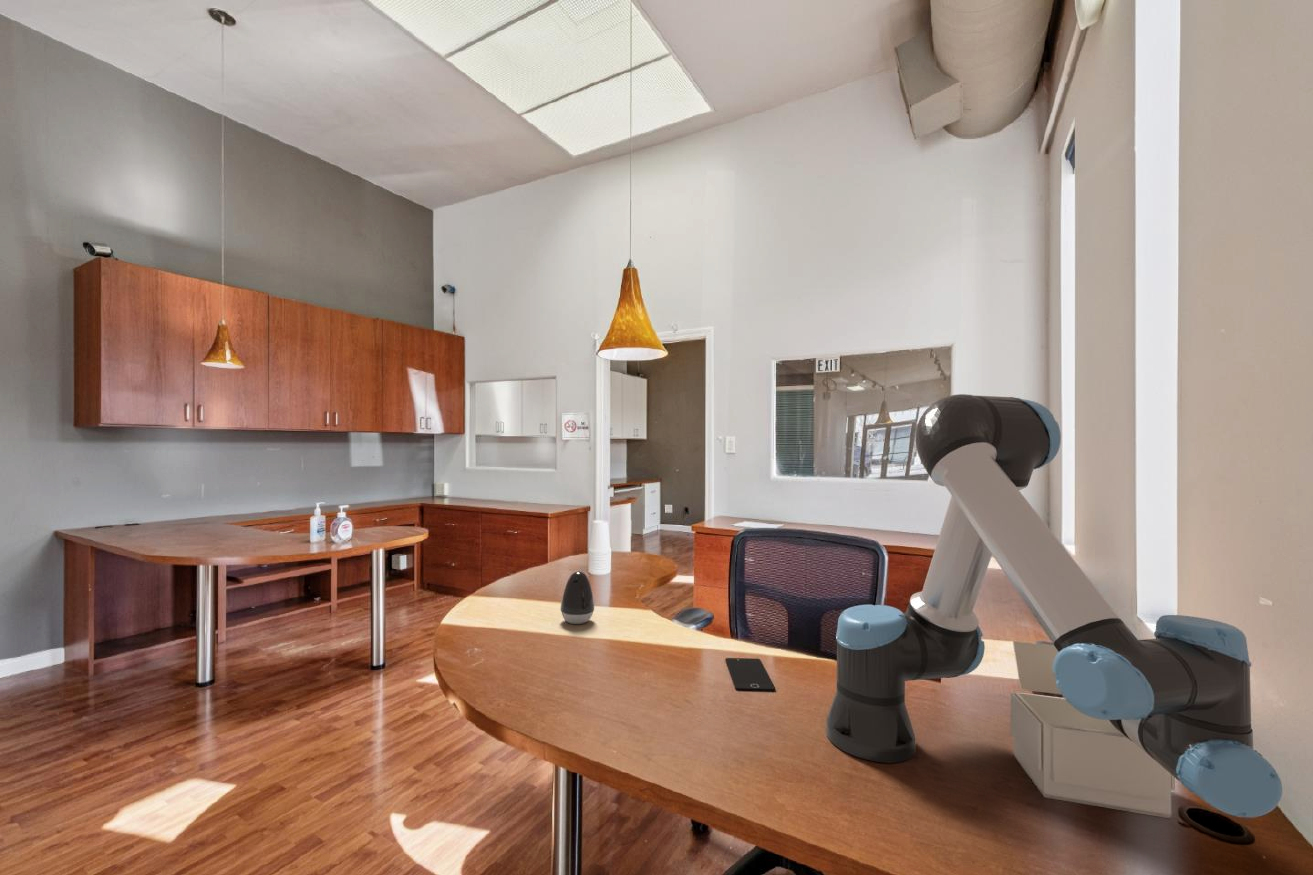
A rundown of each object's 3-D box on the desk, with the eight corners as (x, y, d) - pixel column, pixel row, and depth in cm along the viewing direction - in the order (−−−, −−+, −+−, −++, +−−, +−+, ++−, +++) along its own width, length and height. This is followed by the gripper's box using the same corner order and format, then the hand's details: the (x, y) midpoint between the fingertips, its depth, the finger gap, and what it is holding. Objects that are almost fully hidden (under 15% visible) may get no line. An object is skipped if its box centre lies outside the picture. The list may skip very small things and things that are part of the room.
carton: (1041, 798, 81) (1041, 725, 82) (1009, 755, 93) (1009, 691, 94) (1179, 822, 77) (1178, 744, 77) (1127, 773, 89) (1127, 705, 89)
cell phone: (735, 692, 117) (735, 687, 117) (724, 661, 135) (724, 657, 135) (776, 693, 117) (776, 688, 117) (759, 662, 135) (759, 658, 135)
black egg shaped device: (554, 625, 158) (556, 574, 158) (566, 615, 168) (568, 567, 169) (588, 628, 156) (589, 576, 157) (597, 618, 166) (599, 569, 167)
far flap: (1013, 640, 97) (1012, 641, 97) (1021, 688, 93) (1020, 689, 93) (1104, 650, 93) (1103, 650, 94) (1116, 700, 89) (1115, 700, 90)
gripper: (1094, 742, 72) (1025, 677, 95) (1214, 759, 68) (1113, 688, 91) (1093, 685, 72) (1025, 634, 95) (1212, 699, 69) (1112, 643, 92)
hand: (1068, 660), depth 93 cm, fingers closed
